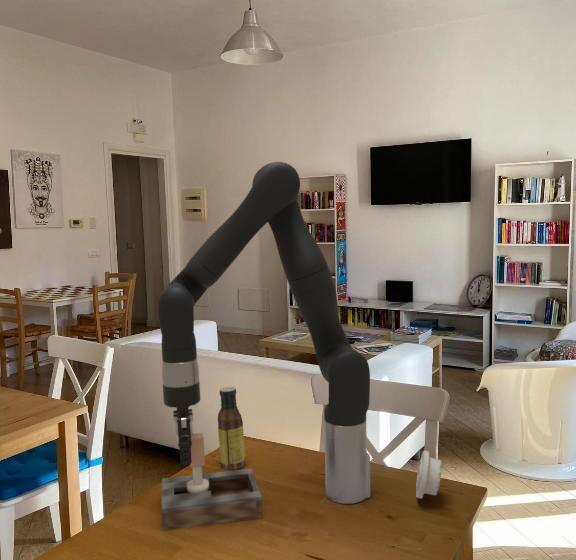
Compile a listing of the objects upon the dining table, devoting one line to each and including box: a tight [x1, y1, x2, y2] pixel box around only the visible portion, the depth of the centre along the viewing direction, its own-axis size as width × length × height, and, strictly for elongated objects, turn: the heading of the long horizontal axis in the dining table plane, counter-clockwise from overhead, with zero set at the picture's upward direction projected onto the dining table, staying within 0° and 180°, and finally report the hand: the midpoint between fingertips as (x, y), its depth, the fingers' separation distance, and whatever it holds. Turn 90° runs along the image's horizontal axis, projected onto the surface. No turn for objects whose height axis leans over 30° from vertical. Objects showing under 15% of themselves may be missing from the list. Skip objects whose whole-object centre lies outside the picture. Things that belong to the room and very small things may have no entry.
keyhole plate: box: [161, 468, 263, 531], centre depth 121 cm, size 20×14×5 cm
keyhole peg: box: [187, 432, 209, 494], centre depth 120 cm, size 5×5×12 cm
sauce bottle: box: [217, 386, 246, 471], centre depth 141 cm, size 7×6×20 cm
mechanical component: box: [415, 450, 442, 499], centre depth 123 cm, size 10×4×10 cm, turn 168°
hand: (185, 456), depth 119 cm, fingers open, 8 cm apart
